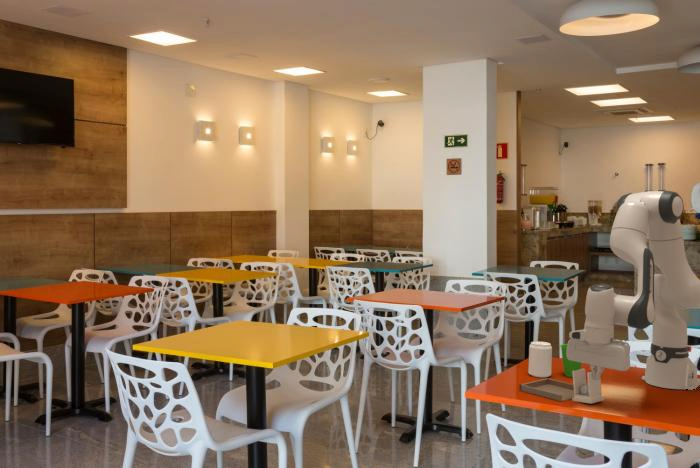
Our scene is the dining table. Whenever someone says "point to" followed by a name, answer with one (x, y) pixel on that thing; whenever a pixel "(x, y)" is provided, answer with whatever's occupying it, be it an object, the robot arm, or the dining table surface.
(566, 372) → the cup
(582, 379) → the u-shaped napkin holder
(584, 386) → the ball
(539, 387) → the tray
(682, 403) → the dining table surface
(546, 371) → the beverage can
